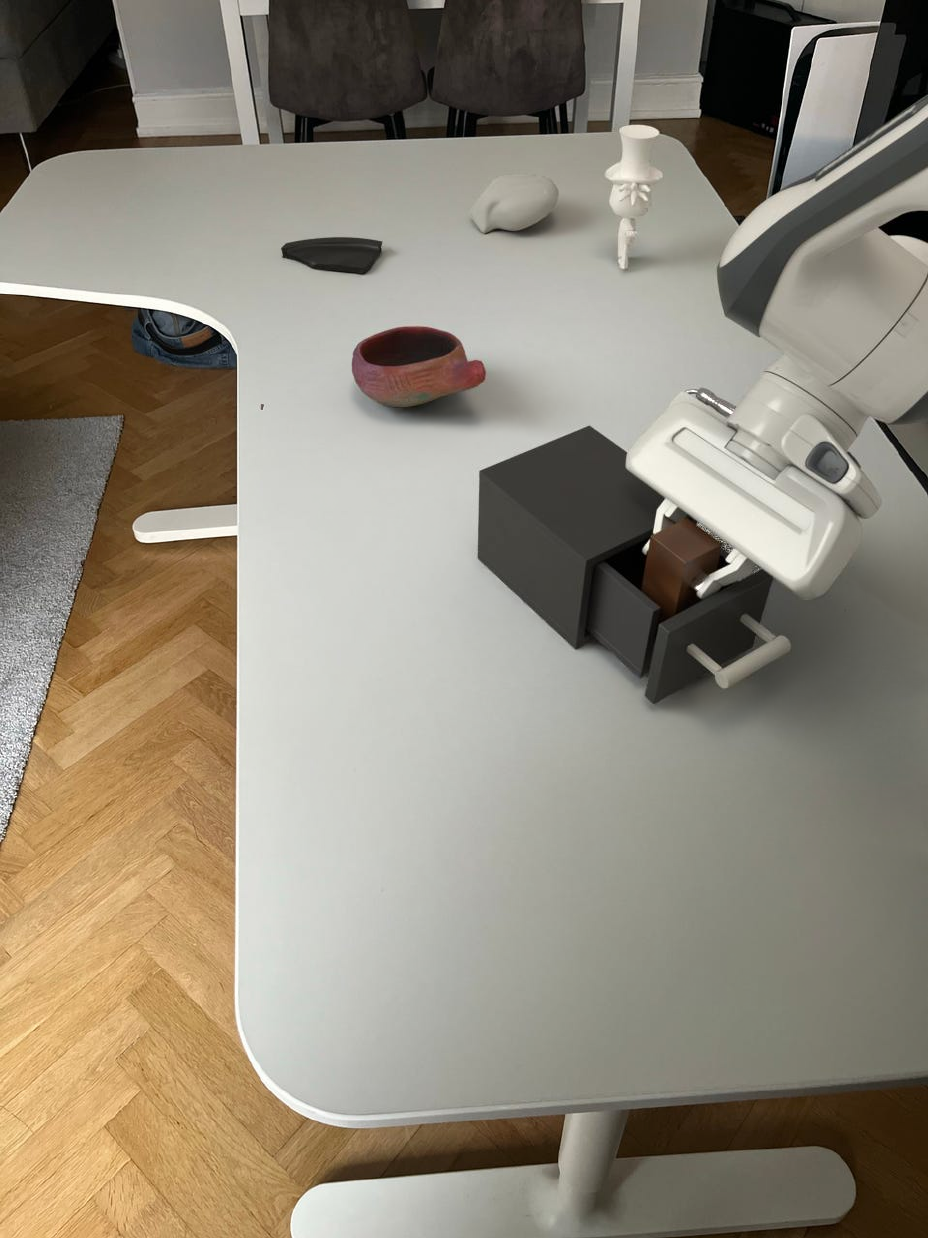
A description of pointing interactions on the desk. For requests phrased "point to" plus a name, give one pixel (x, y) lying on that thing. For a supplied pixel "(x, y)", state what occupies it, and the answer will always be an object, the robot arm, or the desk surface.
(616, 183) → the figurine
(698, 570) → the walnut block
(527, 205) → the shell shaped sculpture
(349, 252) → the curved wedge
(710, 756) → the desk surface
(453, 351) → the bowl
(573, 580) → the drawer cabinet
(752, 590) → the drawer
